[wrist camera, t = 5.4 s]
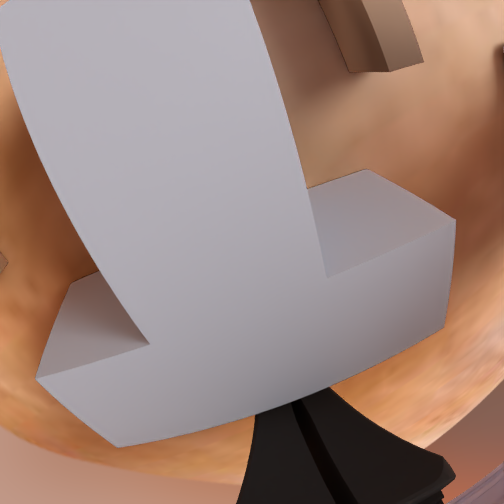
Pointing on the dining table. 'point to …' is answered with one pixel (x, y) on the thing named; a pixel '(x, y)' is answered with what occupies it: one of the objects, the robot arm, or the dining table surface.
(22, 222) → the dining table surface
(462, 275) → the dining table surface
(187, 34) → the tee block
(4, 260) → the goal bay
